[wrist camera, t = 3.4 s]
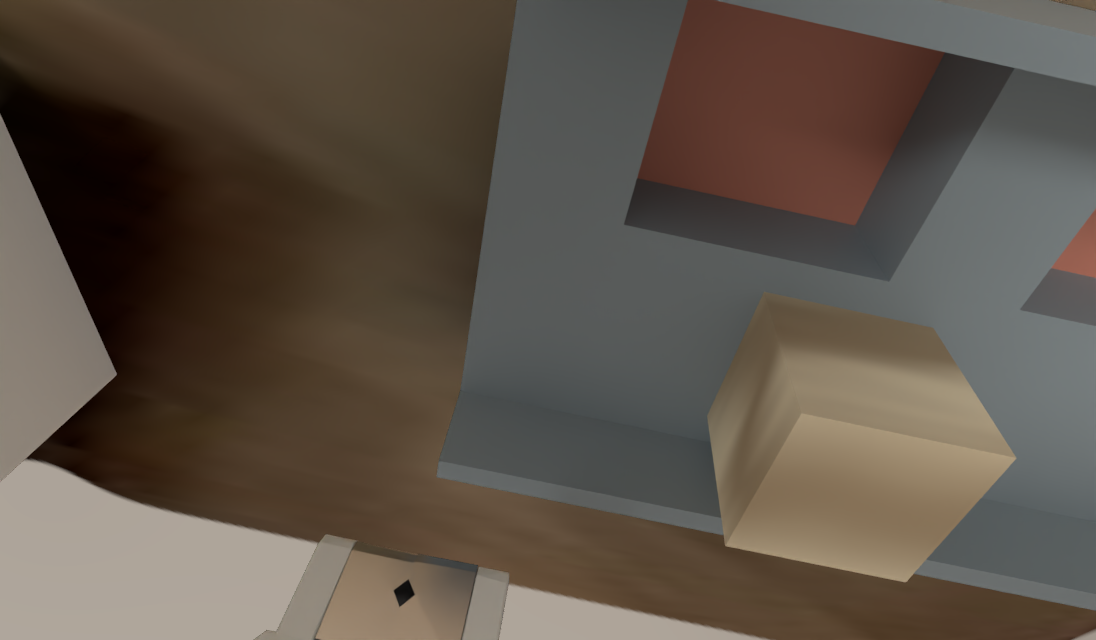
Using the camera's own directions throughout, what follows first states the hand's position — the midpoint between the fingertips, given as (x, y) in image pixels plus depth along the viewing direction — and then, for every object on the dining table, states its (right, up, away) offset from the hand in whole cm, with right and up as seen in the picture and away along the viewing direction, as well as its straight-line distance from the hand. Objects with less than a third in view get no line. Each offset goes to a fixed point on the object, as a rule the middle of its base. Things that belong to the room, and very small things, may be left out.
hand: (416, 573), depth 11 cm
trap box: (+12, +6, +7) cm, 15 cm away
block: (+9, +3, +6) cm, 11 cm away
